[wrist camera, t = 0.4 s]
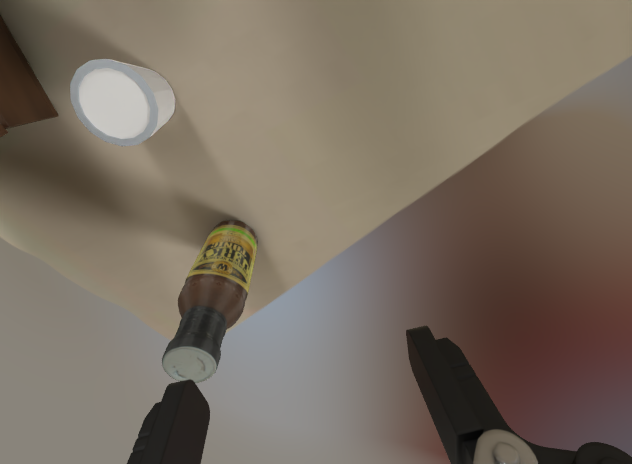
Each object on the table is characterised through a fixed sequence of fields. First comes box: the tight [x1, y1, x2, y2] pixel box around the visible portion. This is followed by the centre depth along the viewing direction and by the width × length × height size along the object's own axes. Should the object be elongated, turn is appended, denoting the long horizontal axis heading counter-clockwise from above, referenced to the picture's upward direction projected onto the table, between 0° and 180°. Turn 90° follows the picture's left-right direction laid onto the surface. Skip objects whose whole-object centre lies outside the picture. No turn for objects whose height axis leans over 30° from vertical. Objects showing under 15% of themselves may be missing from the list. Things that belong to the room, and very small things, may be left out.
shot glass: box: [70, 59, 175, 146], centre depth 29 cm, size 7×7×7 cm
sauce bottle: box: [162, 221, 257, 383], centre depth 32 cm, size 6×6×20 cm
